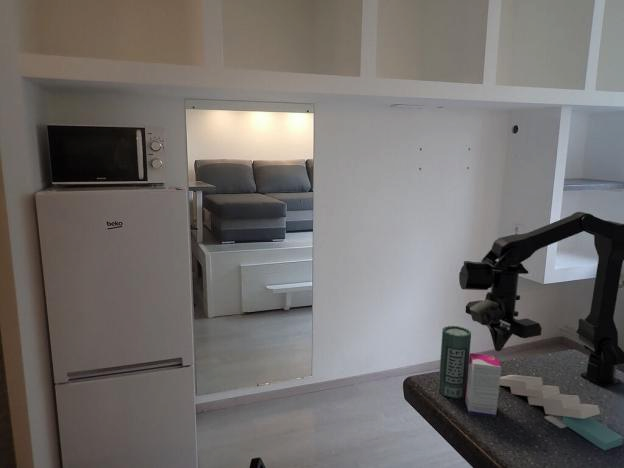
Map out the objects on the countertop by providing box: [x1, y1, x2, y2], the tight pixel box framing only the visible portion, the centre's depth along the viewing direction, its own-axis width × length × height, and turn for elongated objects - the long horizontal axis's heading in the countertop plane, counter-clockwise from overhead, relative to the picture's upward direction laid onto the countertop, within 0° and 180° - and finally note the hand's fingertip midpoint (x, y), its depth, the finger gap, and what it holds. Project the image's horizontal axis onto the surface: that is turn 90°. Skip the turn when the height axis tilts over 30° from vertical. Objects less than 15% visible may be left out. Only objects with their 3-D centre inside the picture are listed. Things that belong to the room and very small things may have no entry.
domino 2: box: [509, 384, 561, 399], centre depth 101 cm, size 2×5×9 cm
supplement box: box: [464, 352, 502, 418], centre depth 97 cm, size 6×6×12 cm
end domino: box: [562, 416, 624, 451], centre depth 89 cm, size 2×5×9 cm
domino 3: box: [526, 393, 582, 408], centre depth 97 cm, size 2×5×9 cm
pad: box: [544, 414, 569, 430], centre depth 94 cm, size 8×4×1 cm, turn 113°
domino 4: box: [543, 403, 601, 419], centre depth 93 cm, size 2×5×9 cm
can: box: [438, 325, 472, 400], centre depth 104 cm, size 6×6×15 cm
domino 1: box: [499, 374, 544, 389], centre depth 105 cm, size 2×5×9 cm
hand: (497, 350), depth 111 cm, fingers closed
